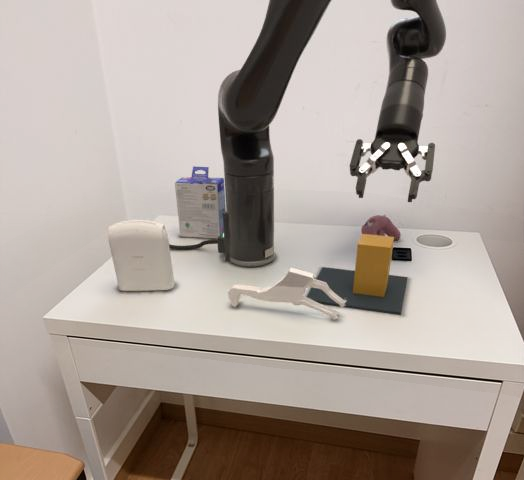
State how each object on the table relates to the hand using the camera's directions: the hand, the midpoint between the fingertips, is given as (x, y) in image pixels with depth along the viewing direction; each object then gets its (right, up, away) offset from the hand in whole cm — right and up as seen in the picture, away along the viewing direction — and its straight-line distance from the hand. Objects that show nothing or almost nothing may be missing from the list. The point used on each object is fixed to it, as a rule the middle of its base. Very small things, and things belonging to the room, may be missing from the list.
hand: (385, 197), depth 84 cm
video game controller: (+4, -4, +19) cm, 20 cm away
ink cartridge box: (-35, 0, +26) cm, 43 cm away
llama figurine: (-18, -21, -5) cm, 28 cm away
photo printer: (-43, -15, +4) cm, 46 cm away
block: (-2, -16, +1) cm, 16 cm away
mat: (-4, -16, +1) cm, 17 cm away
